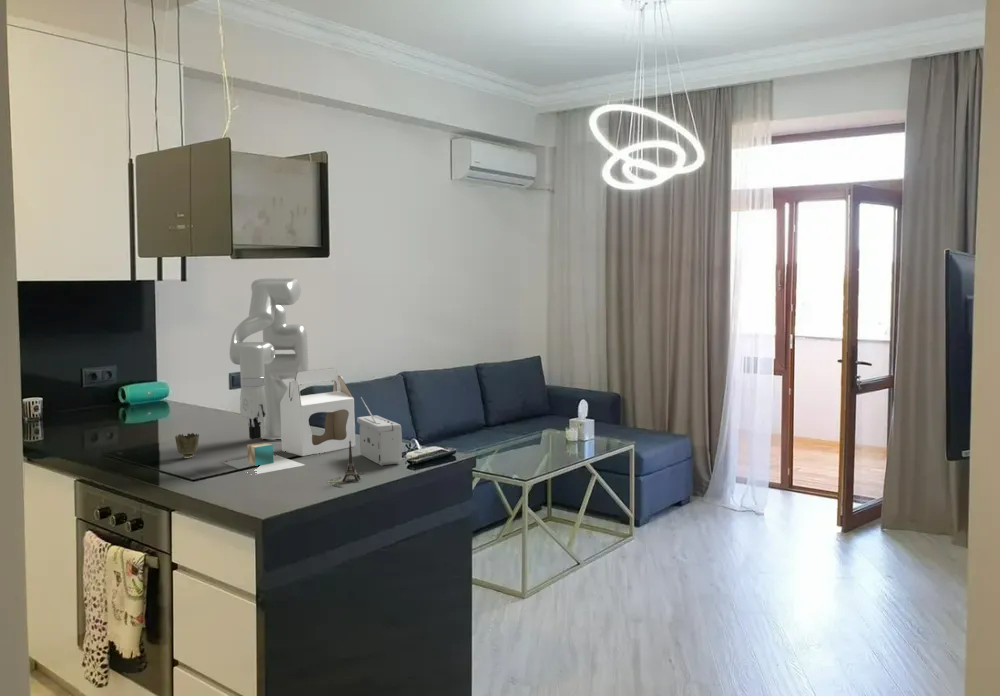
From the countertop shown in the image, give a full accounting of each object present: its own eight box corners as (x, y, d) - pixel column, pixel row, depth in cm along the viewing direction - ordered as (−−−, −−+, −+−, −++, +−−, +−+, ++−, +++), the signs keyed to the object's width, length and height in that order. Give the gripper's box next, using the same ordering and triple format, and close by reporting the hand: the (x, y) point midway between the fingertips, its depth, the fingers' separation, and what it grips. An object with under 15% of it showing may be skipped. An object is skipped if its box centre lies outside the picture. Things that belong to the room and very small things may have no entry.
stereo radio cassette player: (403, 464, 255) (402, 402, 253) (379, 467, 251) (377, 404, 249) (379, 452, 273) (378, 394, 271) (356, 455, 269) (355, 396, 267)
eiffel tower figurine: (359, 474, 245) (358, 431, 244) (381, 479, 238) (380, 435, 237) (319, 484, 234) (317, 439, 232) (341, 489, 227) (339, 443, 226)
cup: (199, 455, 272) (197, 432, 271) (201, 459, 265) (199, 435, 265) (175, 457, 269) (174, 434, 268) (176, 462, 262) (175, 438, 261)
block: (247, 444, 257) (255, 447, 253) (264, 442, 261) (272, 444, 257) (247, 462, 258) (255, 466, 254) (265, 459, 262) (273, 463, 257)
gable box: (334, 441, 292) (332, 365, 290) (356, 446, 283) (354, 368, 281) (280, 451, 276) (277, 371, 274) (302, 457, 267) (299, 374, 265)
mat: (219, 462, 260) (219, 461, 260) (271, 454, 272) (271, 453, 272) (252, 475, 242) (252, 474, 242) (305, 465, 254) (305, 465, 254)
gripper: (232, 381, 261) (234, 436, 263) (252, 385, 250) (254, 443, 252) (253, 379, 266) (255, 433, 268) (274, 383, 255) (276, 440, 257)
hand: (255, 438), depth 260 cm, fingers closed
